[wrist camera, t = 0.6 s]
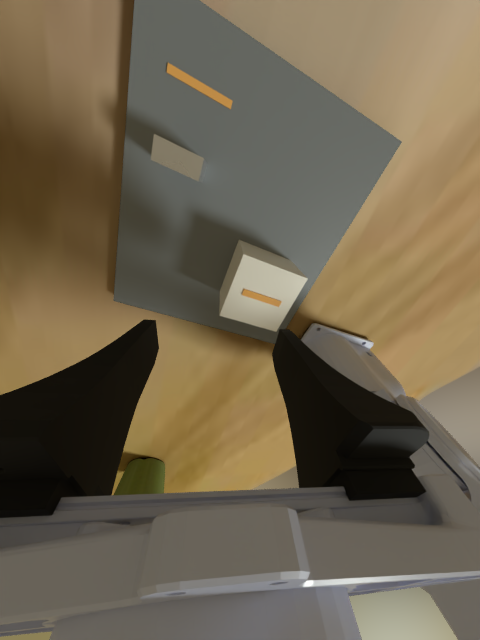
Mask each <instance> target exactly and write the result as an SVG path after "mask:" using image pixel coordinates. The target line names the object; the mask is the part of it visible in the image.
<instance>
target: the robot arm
mask: <svg viewBox="0 0 480 640" xmlns="http://www.w3.org/2000/svg"><path fill="white" fill-rule="evenodd" d="M317 328H319V329H317ZM372 346H373V342H372V341H370V340H367V339H364V338H361V337H358V336H355V335H351V334H348V333H345V332H342V331H339V330H336V329H333V328H329V327H326V326H323V325H320V324H317V323H313V324H312V325H311V326H310V327H309V329H308V330H307V331H306V333H305V334H304V336H303V337H302V339H301V340H300V339H299V338H298V337H297V336H296V335H295V334H294V333H293V332H292V331H290V330H288V329H279V333H278V336H277V340H276V343H275V346H274V350H273V353H272V356H273V363H274V368H275V372H276V375H277V378H278V382H279V385H280V388H281V391H282V394H283V398H284V401H285V404H286V408H287V413H288V418H289V423H290V428H291V434H292V439H293V445H294V452H295V458H296V465H297V472H298V480H299V488H292V489H291V488H289V489H264V490H238V491H213V492H187V493H162V494H136V495H111V494H112V490H113V486H114V482H115V478H116V474H117V470H118V467H119V463H120V459H121V456H122V452H123V448H124V445H125V441H126V438H127V435H128V431H129V428H130V425H131V421H132V418H133V415H134V412H135V409H136V406H137V403H138V401H139V398H140V396H141V394H142V391H143V389H144V387H145V384H146V382H147V380H148V378H149V375H150V373H151V371H152V368H153V366H154V364H155V360H156V357H157V353H158V349H159V346H158V337H157V328H156V320H143V321H141V322H140V323H139V324H137V325H136V326H135V327H133V328H132V329H131V330H129V331H128V332H127V333H125V334H124V335H122V336H121V337H120V338H118V339H117V340H115V341H114V342H112V343H111V344H109V345H107V346H106V347H104V348H103V349H101V350H100V351H98V352H96V353H95V354H93V355H91V356H90V357H88V358H86V359H84V360H82V361H80V362H78V363H76V364H75V365H72V366H70V367H68V368H66V369H64V370H62V371H60V372H58V373H55V374H53V375H51V376H49V377H47V378H44V379H42V380H39V381H37V382H35V383H32V384H29V385H27V386H24V387H22V388H19V389H16V390H14V391H11V392H8V393H5V394H2V395H0V637H1V636H11V635H21V634H30V633H39V632H50V631H52V634H51V636H50V639H49V640H362V639H361V635H360V632H359V629H358V625H357V622H356V619H355V616H354V612H353V609H352V606H351V603H350V599H349V596H354V595H361V594H369V593H376V592H384V591H391V590H398V589H407V588H414V587H421V588H422V589H424V590H425V591H426V592H428V593H429V594H430V595H431V597H432V598H433V600H434V602H435V603H436V605H437V606H438V608H439V610H440V611H441V613H442V614H443V616H444V618H445V619H446V621H447V623H448V624H449V626H450V627H451V629H452V630H453V632H454V634H455V635H456V637H457V639H458V640H480V467H479V466H478V465H477V463H476V462H475V461H474V460H473V459H472V458H471V456H470V455H469V454H468V453H467V452H466V451H465V450H464V449H463V448H462V446H461V445H460V444H459V443H458V442H457V441H456V440H455V439H454V438H453V437H452V435H451V434H450V433H449V432H448V431H447V430H446V429H445V428H444V427H443V426H442V425H441V424H440V423H439V422H438V421H437V420H436V419H435V418H434V417H433V416H432V415H431V414H430V413H429V412H428V411H427V409H425V408H424V407H423V406H422V405H421V404H420V403H419V402H418V401H417V400H416V399H415V398H413V397H408V396H406V394H405V391H404V389H403V387H402V385H401V384H400V383H399V381H398V380H397V379H396V378H395V377H394V376H393V375H392V374H391V373H390V371H389V370H388V369H387V368H386V367H385V366H384V365H383V364H382V363H381V362H380V360H379V359H378V358H377V357H376V356H375V355H374V354H373V353H372V352H371V351H370V348H371V347H372Z"/></svg>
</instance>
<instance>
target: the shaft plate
mask: <svg viewBox="0 0 480 640" xmlns="http://www.w3.org/2000/svg"><path fill="white" fill-rule="evenodd" d="M400 144H401V141H400V140H399V139H397V138H396V137H394V136H393V135H391V134H390V133H389V132H387V131H386V130H384V129H383V128H381V127H380V126H378V125H377V124H376V123H374V122H373V121H371V120H370V119H368V118H367V117H366V116H364V115H363V114H361V113H360V112H358V111H357V110H356V109H354V108H353V107H351V106H350V105H348V104H347V103H346V102H344V101H343V100H341V99H340V98H338V97H337V96H336V95H334V94H333V93H331V92H330V91H328V90H327V89H325V88H324V87H323V86H321V85H320V84H318V83H317V82H315V81H314V80H313V79H311V78H310V77H308V76H307V75H305V74H304V73H303V72H301V71H300V70H298V69H297V68H295V67H294V66H293V65H291V64H290V63H288V62H287V61H285V60H284V59H283V58H281V57H280V56H278V55H277V54H275V53H274V52H272V51H271V50H270V49H268V48H267V47H265V46H264V45H262V44H261V43H260V42H258V41H257V40H255V39H254V38H252V37H251V36H250V35H248V34H247V33H245V32H244V31H242V30H241V29H240V28H238V27H237V26H235V25H234V24H232V23H231V22H229V21H228V20H227V19H225V18H224V17H222V16H221V15H219V14H218V13H217V12H215V11H214V10H212V9H211V8H209V7H208V6H207V5H205V4H204V3H202V2H201V1H199V0H134V13H133V27H132V42H131V56H130V71H129V85H128V100H127V114H126V128H125V143H124V157H123V172H122V186H121V201H120V215H119V229H118V244H117V258H116V273H115V287H114V301H116V302H120V303H124V304H127V305H131V306H135V307H139V308H142V309H146V310H150V311H154V312H157V313H161V314H165V315H169V316H172V317H176V318H180V319H183V320H187V321H191V322H195V323H198V324H202V325H206V326H210V327H213V328H217V329H221V330H225V331H228V332H232V333H236V334H240V335H243V336H247V337H251V338H255V339H258V340H262V341H266V342H269V343H273V344H275V343H276V340H277V336H278V333H279V329H286V327H287V326H288V324H289V322H290V321H291V319H292V318H293V316H294V314H295V313H296V311H297V310H298V308H299V306H300V305H301V303H302V302H303V300H304V298H305V297H306V295H307V294H308V292H309V290H310V289H311V287H312V286H313V284H314V282H315V281H316V279H317V277H318V276H319V274H320V273H321V271H322V269H323V268H324V266H325V265H326V263H327V261H328V260H329V258H330V257H331V255H332V253H333V252H334V250H335V249H336V247H337V245H338V244H339V242H340V240H341V239H342V237H343V236H344V234H345V232H346V231H347V229H348V228H349V226H350V224H351V223H352V221H353V220H354V218H355V216H356V215H357V213H358V212H359V210H360V208H361V207H362V205H363V203H364V202H365V200H366V199H367V197H368V195H369V194H370V192H371V191H372V189H373V187H374V186H375V184H376V183H377V181H378V179H379V178H380V176H381V175H382V173H383V171H384V170H385V168H386V167H387V165H388V163H389V162H390V160H391V158H392V157H393V155H394V154H395V152H396V150H397V149H398V147H399V146H400ZM239 240H241V241H244V242H246V243H249V244H251V245H254V246H256V247H259V248H261V249H264V250H266V251H269V252H271V253H274V254H276V255H279V256H281V257H284V258H286V259H289V260H291V261H292V262H293V263H294V264H295V265H296V267H297V268H298V269H299V270H300V271H301V272H302V273H303V274H304V275H305V276H306V277H307V278H308V279H307V281H306V283H305V284H304V286H303V288H302V290H301V291H300V293H299V295H298V296H297V298H296V300H295V301H294V303H293V305H292V306H291V308H290V310H289V311H288V313H287V315H286V316H285V318H284V320H283V321H282V323H281V325H280V326H279V328H278V330H277V331H276V332H275V331H272V330H268V329H265V328H261V327H258V326H254V325H251V324H247V323H244V322H240V321H237V320H233V319H230V318H226V317H223V316H219V308H220V289H221V287H222V284H223V281H224V279H225V276H226V273H227V270H228V268H229V265H230V262H231V260H232V257H233V254H234V251H235V249H236V246H237V243H238V241H239Z"/></svg>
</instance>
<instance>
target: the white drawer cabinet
mask: <svg viewBox="0 0 480 640" xmlns="http://www.w3.org/2000/svg"><path fill="white" fill-rule="evenodd" d="M307 279H308V278H307V277H306V276H305V275H304V274H303V273H302V272H301V271H300V270H299V269H298V268H297V267H296V265H295V264H294V263H293V262H292V261H291V260H289V259H286V258H284V257H281V256H279V255H276V254H274V253H271V252H269V251H266V250H264V249H261V248H259V247H256V246H254V245H251V244H249V243H246V242H244V241H241V240H239V241H238V243H237V246H236V249H235V251H234V254H233V257H232V260H231V262H230V265H229V268H228V270H227V273H226V276H225V279H224V281H223V284H222V287H221V289H220V308H219V316H223V317H226V318H230V319H233V320H237V321H240V322H244V323H247V324H251V325H254V326H258V327H261V328H265V329H268V330H272V331H275V332H276V331H277V330H278V328H279V326H280V325H281V323H282V321H283V320H284V318H285V316H286V315H287V313H288V311H289V310H290V308H291V306H292V305H293V303H294V301H295V300H296V298H297V296H298V295H299V293H300V291H301V290H302V288H303V286H304V284H305V283H306V281H307Z"/></svg>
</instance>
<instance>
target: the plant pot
mask: <svg viewBox="0 0 480 640" xmlns="http://www.w3.org/2000/svg"><path fill="white" fill-rule="evenodd" d="M164 480H165V465H164V463H163V462H162V461H160V460H157V459H154V458H147V459H145V460H142V459H135V460H133V461H131V462H130V463H129V464H128V466H127V468H126V470H125V472H124V474H123V476H122V478H121V480H120V482H119V484H118V487H117V489H116V491H115V493H114V495H136V494H162V493H164Z"/></svg>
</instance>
